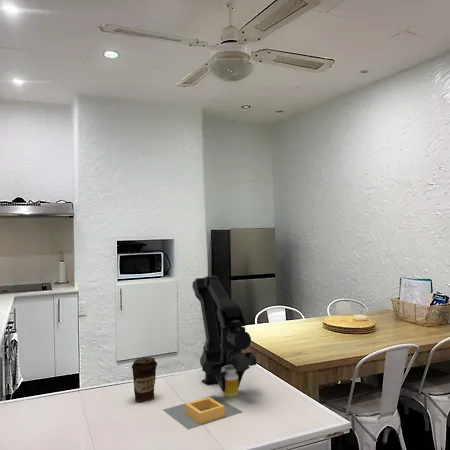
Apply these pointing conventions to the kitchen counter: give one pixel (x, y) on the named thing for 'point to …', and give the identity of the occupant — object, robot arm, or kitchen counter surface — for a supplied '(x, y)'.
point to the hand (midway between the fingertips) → (230, 389)
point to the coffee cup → (144, 378)
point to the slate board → (189, 423)
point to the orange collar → (204, 416)
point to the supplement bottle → (230, 383)
